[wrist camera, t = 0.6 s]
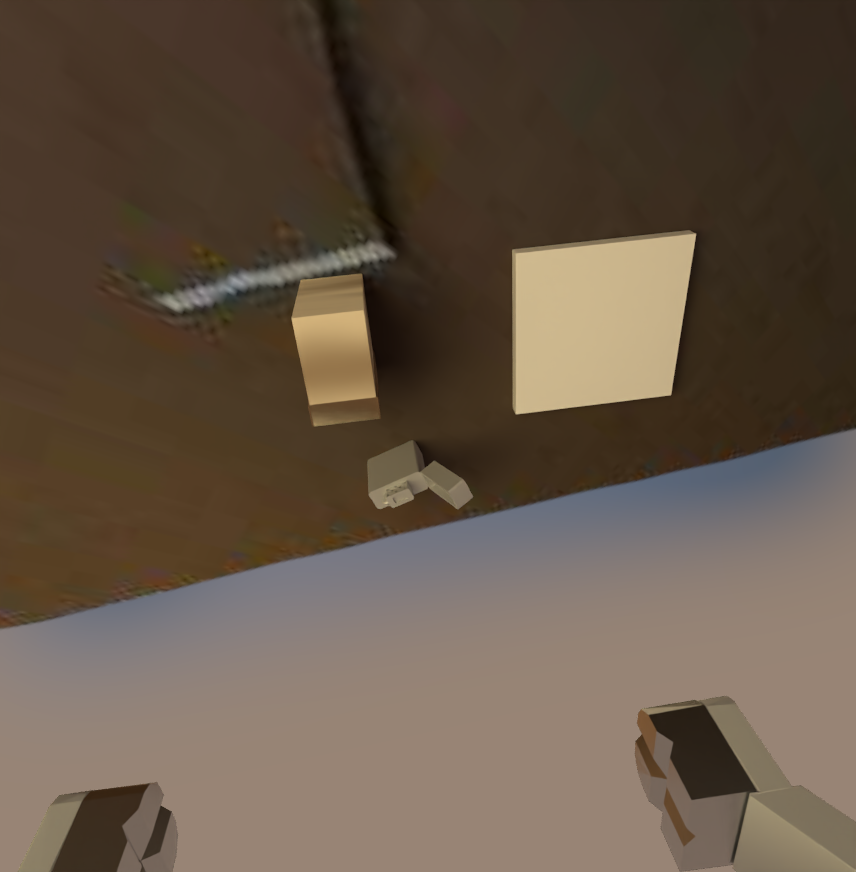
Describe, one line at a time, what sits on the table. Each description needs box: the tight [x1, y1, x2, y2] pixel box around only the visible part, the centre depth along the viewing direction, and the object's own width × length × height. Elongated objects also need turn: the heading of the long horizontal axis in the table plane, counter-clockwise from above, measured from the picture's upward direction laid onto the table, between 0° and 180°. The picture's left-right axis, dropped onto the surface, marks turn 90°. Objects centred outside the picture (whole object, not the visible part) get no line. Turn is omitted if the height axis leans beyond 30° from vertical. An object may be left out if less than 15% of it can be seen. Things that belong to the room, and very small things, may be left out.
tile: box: [512, 230, 696, 414], centre depth 42 cm, size 12×12×1 cm
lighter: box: [367, 440, 473, 509], centre depth 43 cm, size 7×2×8 cm, turn 114°
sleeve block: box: [292, 274, 381, 426], centre depth 38 cm, size 7×4×7 cm, turn 4°
